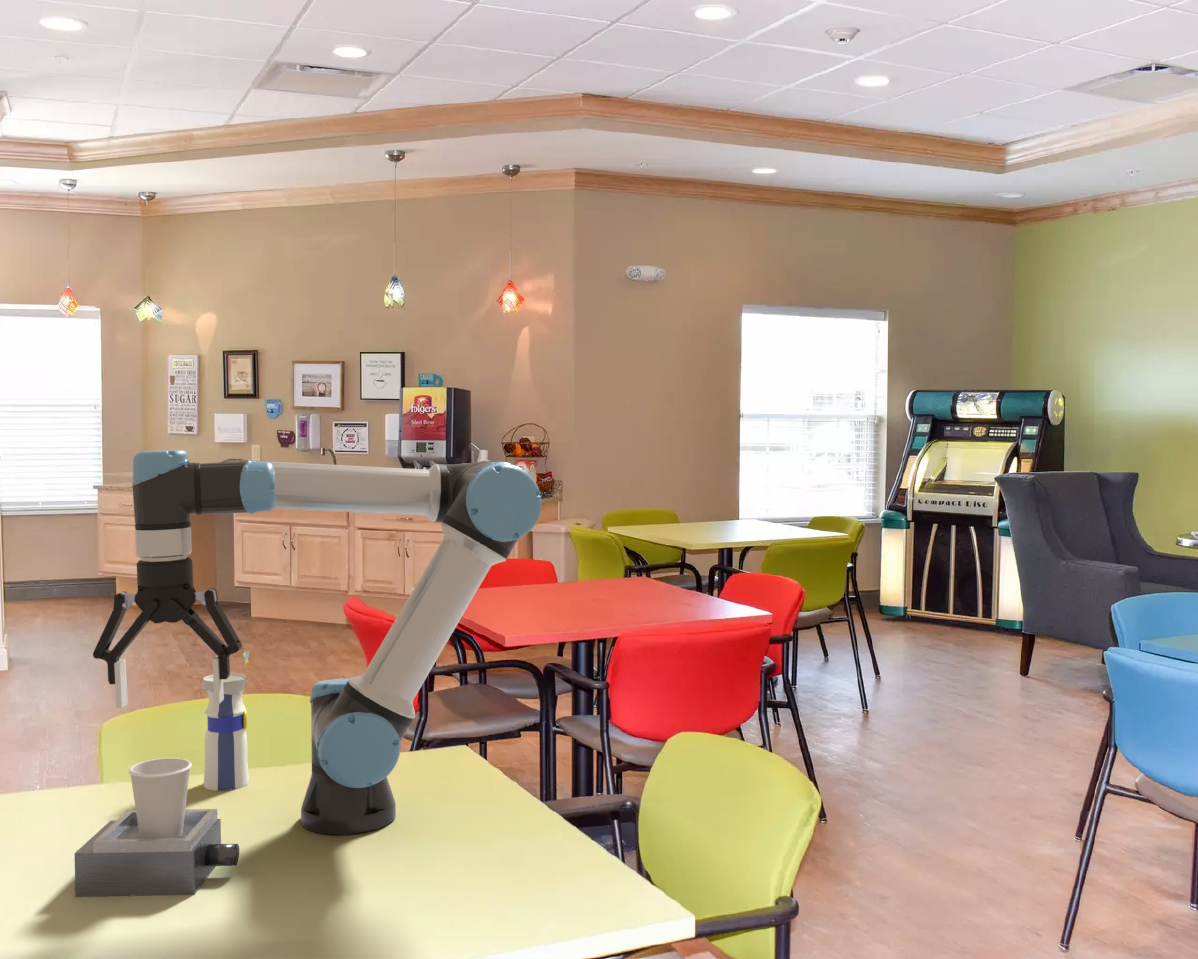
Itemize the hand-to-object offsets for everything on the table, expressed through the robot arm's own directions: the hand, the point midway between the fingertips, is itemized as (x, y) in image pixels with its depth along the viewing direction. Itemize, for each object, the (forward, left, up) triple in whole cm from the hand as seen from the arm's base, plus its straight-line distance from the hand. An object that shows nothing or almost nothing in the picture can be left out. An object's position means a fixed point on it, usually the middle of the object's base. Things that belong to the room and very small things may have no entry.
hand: (170, 704), depth 165 cm
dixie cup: (0, +4, -18) cm, 19 cm away
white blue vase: (+3, -40, -24) cm, 46 cm away
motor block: (0, +3, -24) cm, 24 cm away
